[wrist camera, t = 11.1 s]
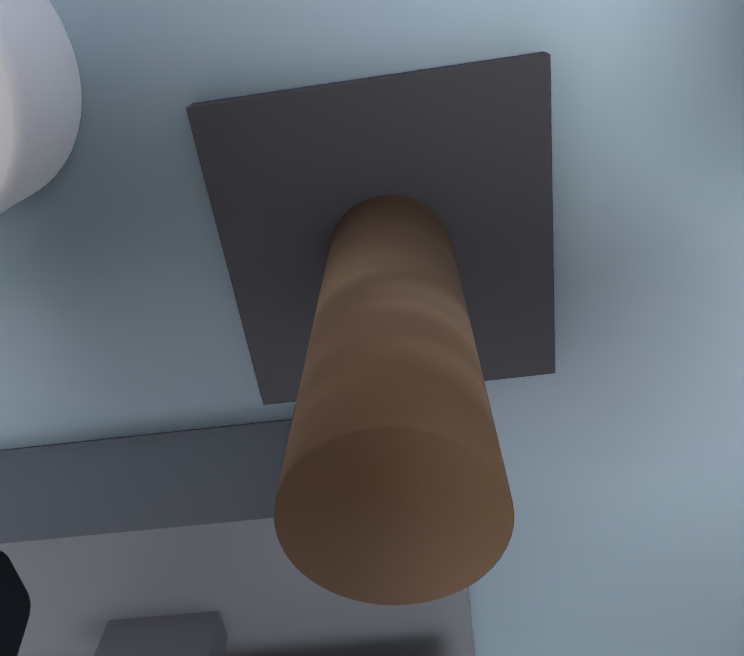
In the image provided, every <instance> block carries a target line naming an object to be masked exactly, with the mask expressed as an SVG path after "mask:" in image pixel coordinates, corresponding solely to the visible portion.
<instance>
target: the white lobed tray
mask: <svg viewBox="0 0 744 656" xmlns="http://www.w3.org/2000/svg"><path fill="white" fill-rule="evenodd" d="M81 109H82V93H81V82H80V76H79V70H78V65H77V61H76V57H75V54H74V51H73V48H72V45H71V42H70V40H69V37H68V35H67V32H66V30H65V28H64V26H63V24H62V22H61V20H60V18H59V16H58V14H57V12H56V11H55V9H54V7H53V6H52V4H51V2H50V1H49V0H0V214H1V213H2V212H4V211H6V210H7V209H9V208H10V207H12V206H14V205H15V204H17V203H19V202H20V201H22V200H24V199H25V198H27V197H29V196H30V195H32V194H34V193H35V192H37V191H38V190H40V189H41V188H43V187H44V186H45V185H46V184H48V183H49V182H50V181H51V180H52V179H53V178H54V177H55V176H56V174H57V173H58V172H59V171H60V170H61V168H62V167H63V165H64V164H65V162H66V161H67V159H68V157H69V155H70V153H71V151H72V149H73V146H74V144H75V141H76V138H77V134H78V130H79V125H80V119H81Z"/></svg>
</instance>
